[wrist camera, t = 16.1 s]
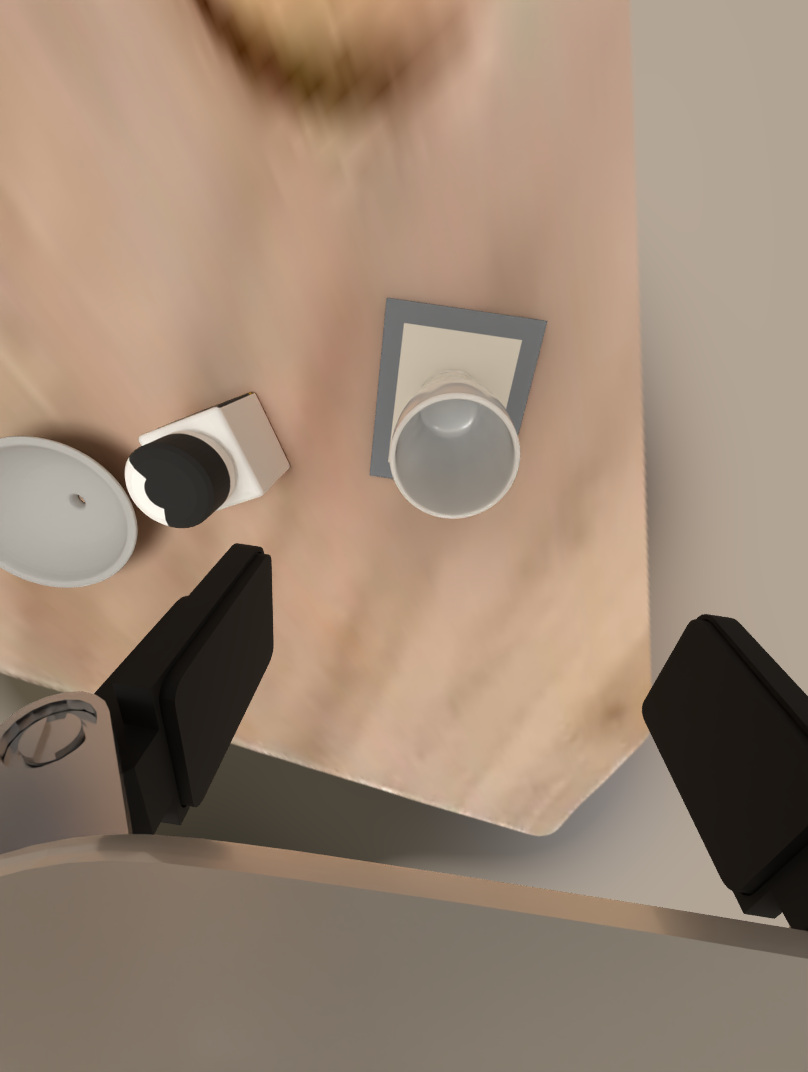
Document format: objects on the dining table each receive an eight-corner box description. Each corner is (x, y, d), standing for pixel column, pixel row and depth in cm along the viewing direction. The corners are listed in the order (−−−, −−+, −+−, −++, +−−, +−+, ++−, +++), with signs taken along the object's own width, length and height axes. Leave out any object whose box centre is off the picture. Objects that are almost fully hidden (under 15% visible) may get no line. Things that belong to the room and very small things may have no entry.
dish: (109, 396, 38) (64, 407, 33) (197, 535, 44) (169, 560, 39) (-34, 458, 42) (-90, 475, 37) (65, 578, 48) (26, 605, 43)
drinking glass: (504, 422, 35) (541, 491, 22) (429, 457, 37) (422, 539, 24) (472, 341, 33) (492, 364, 20) (393, 383, 35) (363, 429, 21)
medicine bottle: (255, 390, 36) (178, 421, 26) (292, 467, 39) (236, 524, 29) (185, 417, 38) (85, 457, 27) (225, 489, 41) (150, 551, 30)
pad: (387, 297, 32) (386, 297, 32) (545, 320, 32) (547, 320, 32) (370, 473, 39) (369, 475, 38) (502, 492, 39) (503, 495, 38)
